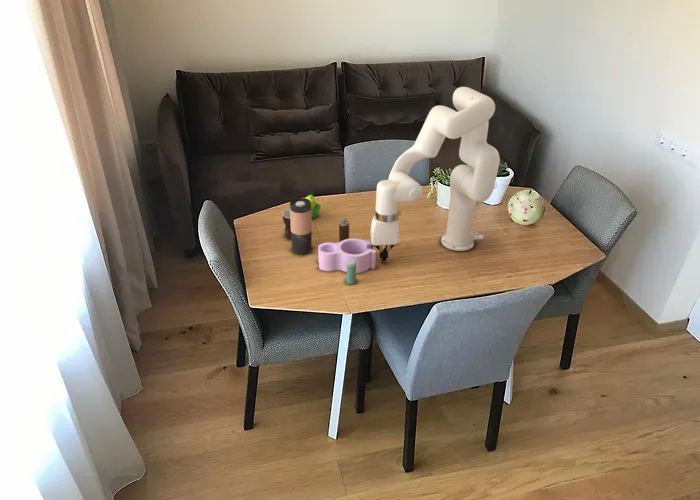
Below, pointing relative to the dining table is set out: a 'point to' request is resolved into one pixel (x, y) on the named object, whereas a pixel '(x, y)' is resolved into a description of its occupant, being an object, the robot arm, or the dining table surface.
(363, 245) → the clip
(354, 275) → the green cylinder
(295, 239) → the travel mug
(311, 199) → the fruit basket
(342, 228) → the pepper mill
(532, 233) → the dining table surface
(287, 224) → the coffee mug
